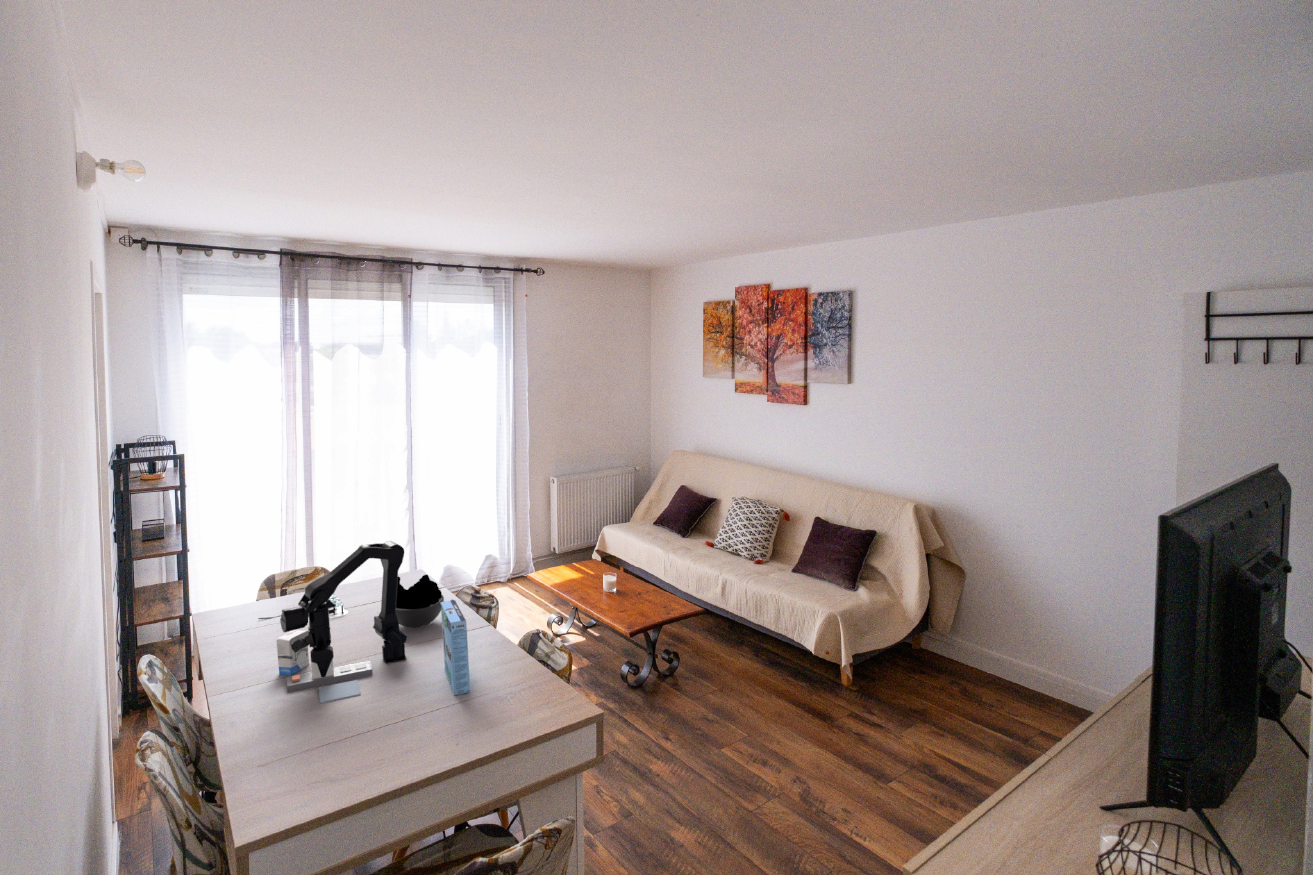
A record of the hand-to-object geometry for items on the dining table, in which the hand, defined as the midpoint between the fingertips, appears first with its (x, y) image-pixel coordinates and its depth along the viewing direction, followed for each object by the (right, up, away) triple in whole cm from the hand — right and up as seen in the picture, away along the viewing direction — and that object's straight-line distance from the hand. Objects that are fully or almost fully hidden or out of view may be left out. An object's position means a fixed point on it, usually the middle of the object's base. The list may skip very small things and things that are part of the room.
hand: (322, 670), depth 220 cm
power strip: (+2, -3, +1) cm, 4 cm away
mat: (+9, -4, -7) cm, 12 cm away
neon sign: (-33, +3, +54) cm, 64 cm away
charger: (0, -3, 0) cm, 3 cm away
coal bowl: (+15, +2, +43) cm, 45 cm away
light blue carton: (+42, -3, 0) cm, 42 cm away
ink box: (-13, -2, +8) cm, 16 cm away
